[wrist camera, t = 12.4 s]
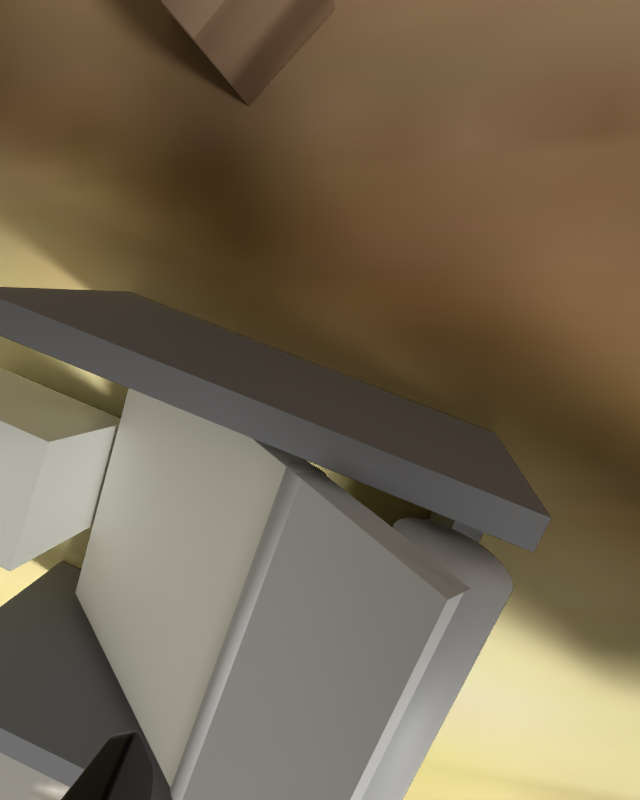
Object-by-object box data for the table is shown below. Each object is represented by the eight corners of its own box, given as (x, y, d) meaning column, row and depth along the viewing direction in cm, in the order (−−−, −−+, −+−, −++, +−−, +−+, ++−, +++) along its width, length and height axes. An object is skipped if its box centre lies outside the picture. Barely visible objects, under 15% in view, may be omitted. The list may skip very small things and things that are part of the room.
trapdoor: (533, 581, 12) (466, 618, 9) (357, 910, 15) (271, 1004, 12) (210, 356, 22) (137, 345, 19) (144, 578, 25) (72, 593, 22)
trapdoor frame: (494, 432, 20) (551, 518, 12) (362, 715, 23) (339, 921, 16) (128, 291, 21) (-33, 285, 13) (57, 577, 25) (-101, 702, 17)
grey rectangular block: (48, 442, 17) (-120, 367, 17) (10, 571, 17) (-151, 493, 18) (129, 422, 22) (-6, 364, 22) (96, 523, 22) (-33, 464, 23)
